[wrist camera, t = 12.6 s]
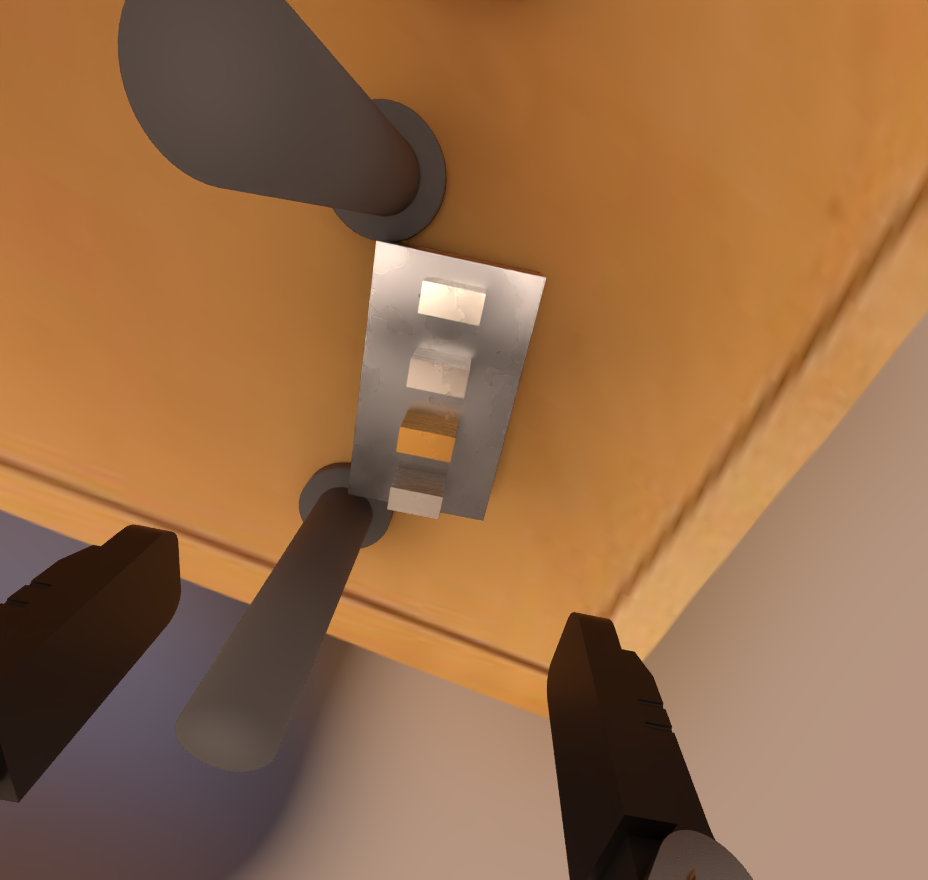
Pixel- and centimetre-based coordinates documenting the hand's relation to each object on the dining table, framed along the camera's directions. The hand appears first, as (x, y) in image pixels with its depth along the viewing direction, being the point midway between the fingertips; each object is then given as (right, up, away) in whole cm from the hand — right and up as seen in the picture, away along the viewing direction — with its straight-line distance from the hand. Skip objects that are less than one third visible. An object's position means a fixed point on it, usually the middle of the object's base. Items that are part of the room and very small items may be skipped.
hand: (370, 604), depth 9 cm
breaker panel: (+1, +6, +14) cm, 16 cm away
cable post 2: (-5, 0, +18) cm, 18 cm away
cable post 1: (-1, +15, +11) cm, 18 cm away
